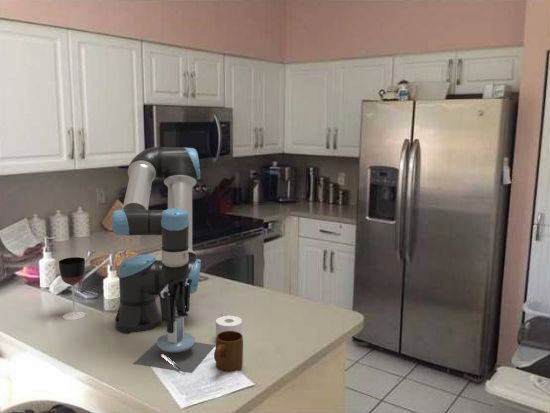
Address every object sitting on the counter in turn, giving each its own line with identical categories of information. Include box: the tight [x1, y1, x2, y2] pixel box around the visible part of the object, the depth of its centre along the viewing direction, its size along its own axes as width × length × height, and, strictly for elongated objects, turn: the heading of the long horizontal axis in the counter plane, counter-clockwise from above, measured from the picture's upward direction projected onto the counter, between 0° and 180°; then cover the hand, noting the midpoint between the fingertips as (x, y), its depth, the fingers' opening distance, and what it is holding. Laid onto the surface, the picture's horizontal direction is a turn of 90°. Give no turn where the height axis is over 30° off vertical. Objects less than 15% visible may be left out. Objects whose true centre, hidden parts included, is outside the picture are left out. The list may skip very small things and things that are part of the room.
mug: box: [213, 331, 244, 373], centre depth 139 cm, size 12×8×9 cm, turn 159°
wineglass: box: [58, 256, 87, 321], centre depth 174 cm, size 8×9×20 cm
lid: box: [156, 315, 196, 352], centre depth 147 cm, size 11×11×8 cm
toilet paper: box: [215, 313, 243, 338], centre depth 159 cm, size 8×11×7 cm
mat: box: [132, 341, 216, 374], centre depth 148 cm, size 18×18×1 cm
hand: (176, 339), depth 147 cm, fingers closed on lid, 3 cm apart
